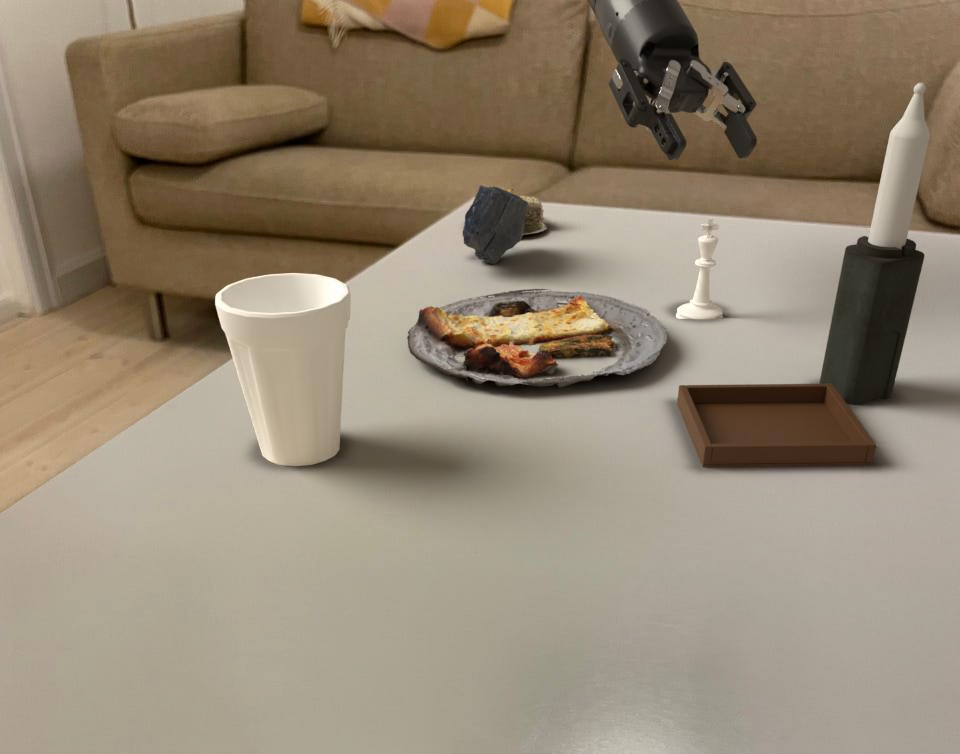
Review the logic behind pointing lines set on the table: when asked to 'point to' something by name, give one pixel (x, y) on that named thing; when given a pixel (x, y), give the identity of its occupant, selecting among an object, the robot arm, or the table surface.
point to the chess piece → (703, 281)
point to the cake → (532, 215)
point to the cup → (289, 360)
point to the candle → (880, 274)
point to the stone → (494, 223)
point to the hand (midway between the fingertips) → (714, 152)
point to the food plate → (534, 335)
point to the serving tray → (773, 426)
